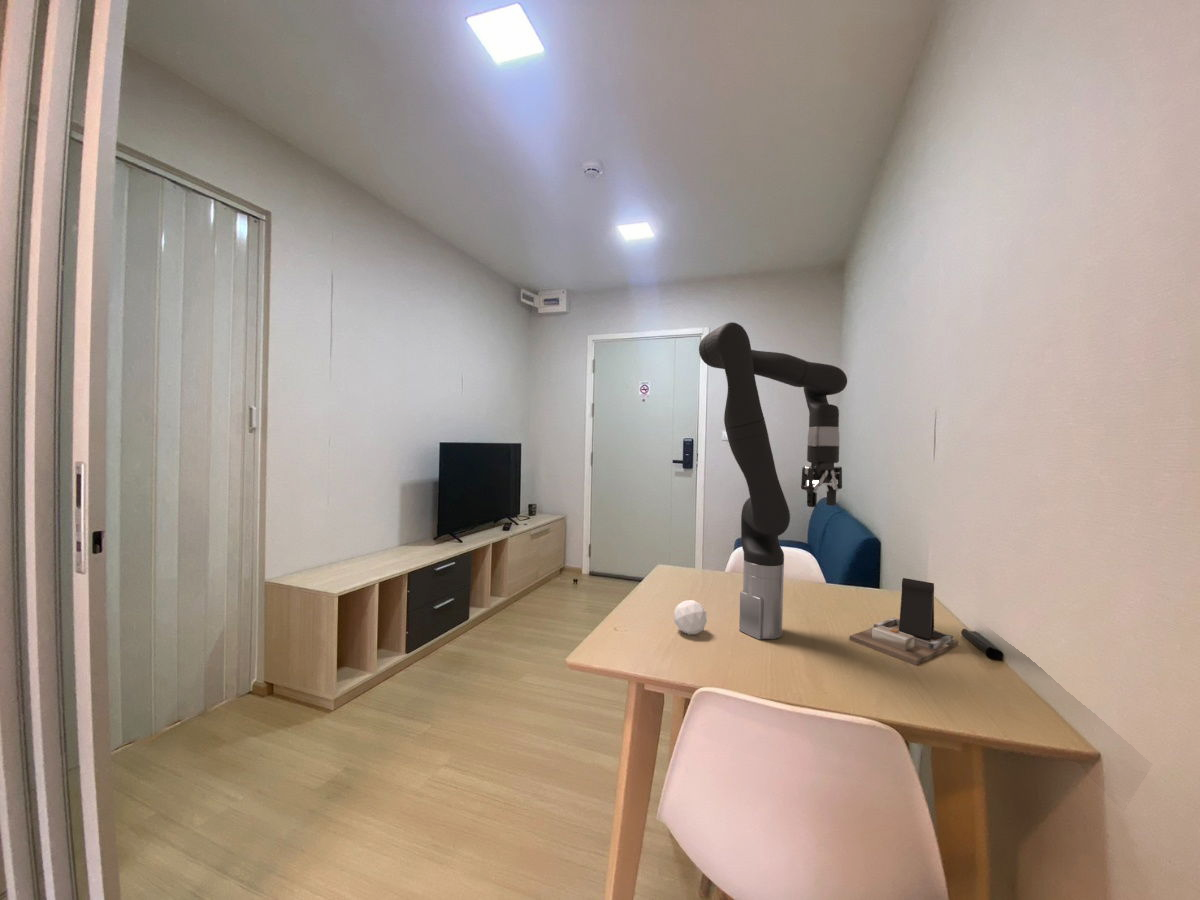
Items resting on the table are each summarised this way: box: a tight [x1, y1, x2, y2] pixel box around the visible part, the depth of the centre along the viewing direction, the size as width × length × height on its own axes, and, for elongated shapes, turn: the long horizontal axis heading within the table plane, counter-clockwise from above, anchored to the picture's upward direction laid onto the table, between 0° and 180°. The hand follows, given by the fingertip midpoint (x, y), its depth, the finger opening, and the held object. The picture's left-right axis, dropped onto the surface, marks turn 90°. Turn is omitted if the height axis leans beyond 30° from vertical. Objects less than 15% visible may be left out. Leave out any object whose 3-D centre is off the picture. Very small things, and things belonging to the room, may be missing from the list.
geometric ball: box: [673, 599, 708, 635], centre depth 107 cm, size 8×8×8 cm
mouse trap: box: [849, 617, 959, 666], centre depth 104 cm, size 20×14×4 cm
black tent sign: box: [899, 577, 935, 640], centre depth 105 cm, size 9×6×12 cm, turn 138°
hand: (821, 506), depth 117 cm, fingers open, 8 cm apart
